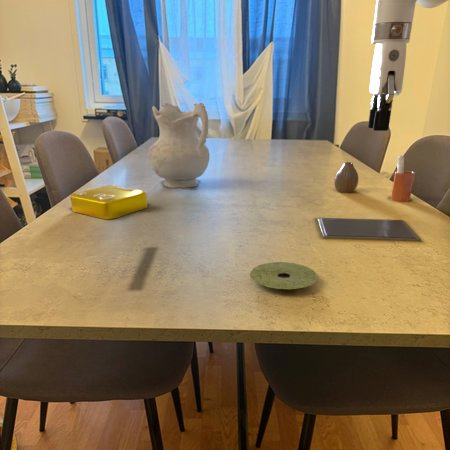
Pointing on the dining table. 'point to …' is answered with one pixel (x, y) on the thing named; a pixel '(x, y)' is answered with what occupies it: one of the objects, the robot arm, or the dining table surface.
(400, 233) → the tablet
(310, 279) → the green stone disc
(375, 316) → the dining table surface
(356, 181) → the vase
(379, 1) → the robot arm
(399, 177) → the pen cup
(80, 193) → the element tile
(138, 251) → the dining table surface
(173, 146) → the ceramic pitcher
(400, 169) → the stylus
